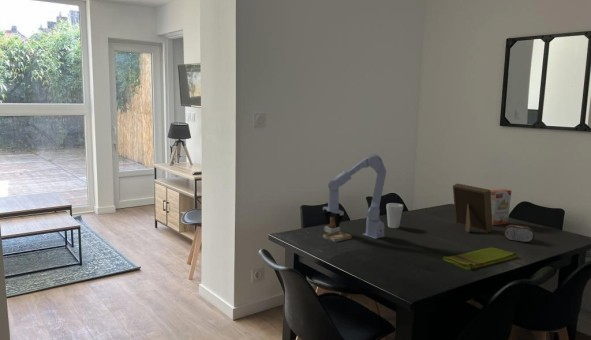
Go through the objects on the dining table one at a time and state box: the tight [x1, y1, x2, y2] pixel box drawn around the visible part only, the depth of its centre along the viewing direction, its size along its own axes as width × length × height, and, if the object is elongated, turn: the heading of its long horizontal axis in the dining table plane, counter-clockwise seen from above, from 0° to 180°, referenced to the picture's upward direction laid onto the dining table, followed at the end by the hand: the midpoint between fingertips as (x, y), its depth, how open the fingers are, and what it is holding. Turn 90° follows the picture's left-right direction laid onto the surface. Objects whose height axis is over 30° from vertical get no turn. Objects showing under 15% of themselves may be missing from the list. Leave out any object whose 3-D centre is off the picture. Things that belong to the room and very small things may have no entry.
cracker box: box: [489, 188, 512, 227], centre depth 287 cm, size 14×6×21 cm, turn 120°
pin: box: [329, 216, 335, 229], centre depth 260 cm, size 3×3×8 cm
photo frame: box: [452, 183, 493, 234], centre depth 273 cm, size 15×22×25 cm
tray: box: [322, 231, 353, 243], centre depth 249 cm, size 10×12×2 cm
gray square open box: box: [323, 225, 342, 233], centre depth 260 cm, size 6×6×3 cm
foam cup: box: [385, 202, 404, 229], centre depth 274 cm, size 10×9×13 cm
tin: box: [503, 224, 536, 243], centre depth 253 cm, size 15×3×8 cm, turn 65°
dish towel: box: [442, 247, 518, 271], centre depth 223 cm, size 15×36×3 cm, turn 121°
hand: (332, 225), depth 260 cm, fingers open, 7 cm apart
